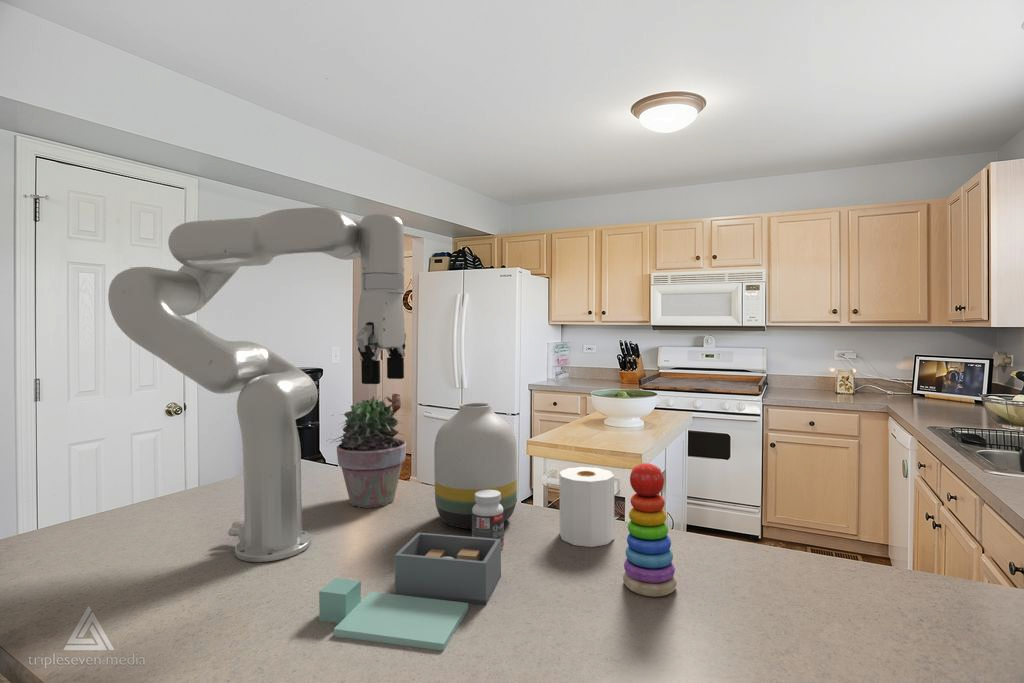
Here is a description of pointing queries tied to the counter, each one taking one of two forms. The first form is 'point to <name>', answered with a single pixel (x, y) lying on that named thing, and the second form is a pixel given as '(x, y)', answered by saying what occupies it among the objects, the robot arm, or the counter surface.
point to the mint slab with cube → (389, 616)
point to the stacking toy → (648, 536)
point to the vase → (474, 463)
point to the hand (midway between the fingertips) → (383, 381)
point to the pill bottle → (488, 516)
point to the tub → (448, 568)
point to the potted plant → (371, 452)
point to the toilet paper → (586, 506)
